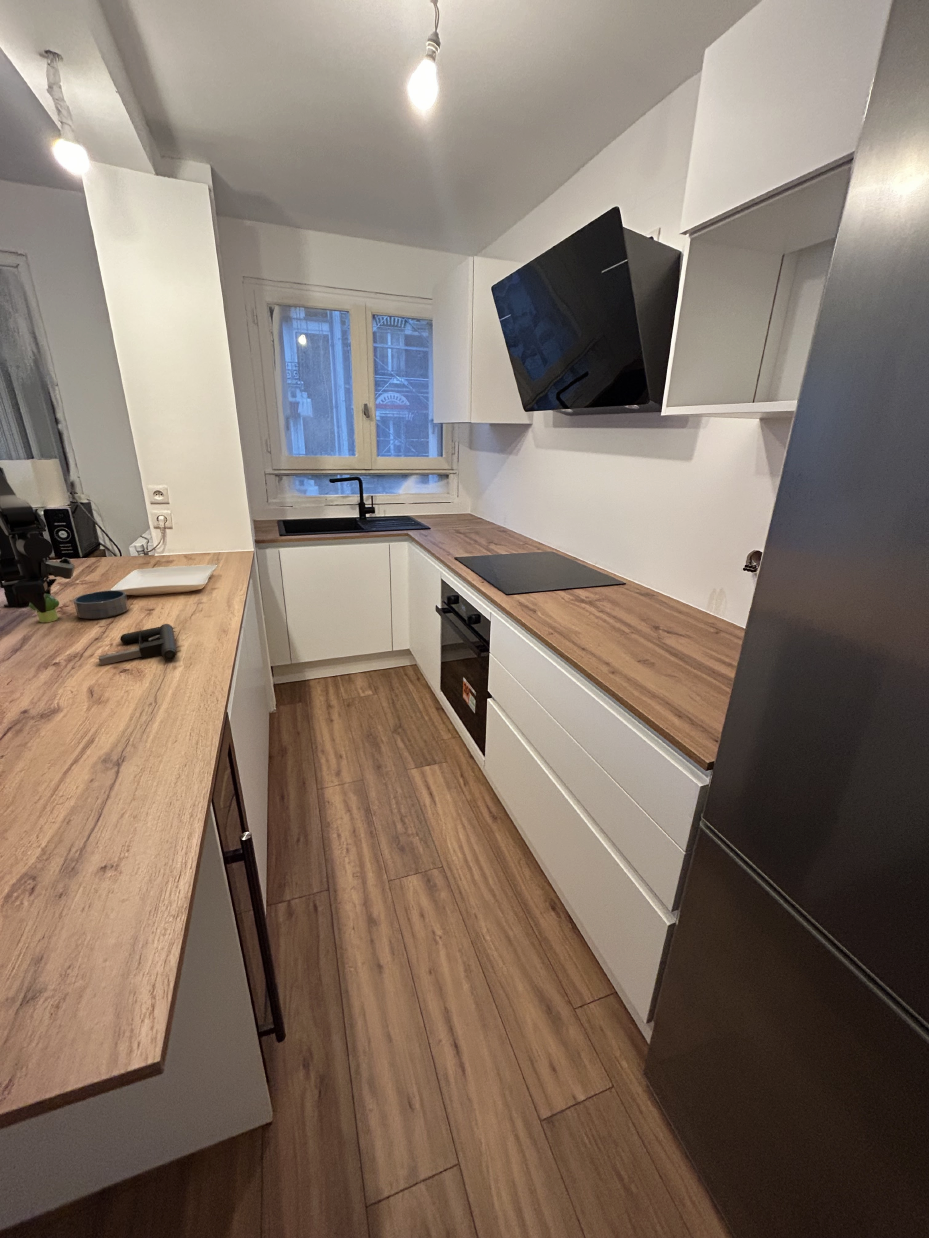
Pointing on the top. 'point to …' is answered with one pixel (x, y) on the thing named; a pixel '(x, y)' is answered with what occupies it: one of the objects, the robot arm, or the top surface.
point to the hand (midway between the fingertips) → (45, 609)
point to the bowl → (101, 604)
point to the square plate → (165, 580)
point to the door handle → (146, 645)
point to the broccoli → (47, 609)
